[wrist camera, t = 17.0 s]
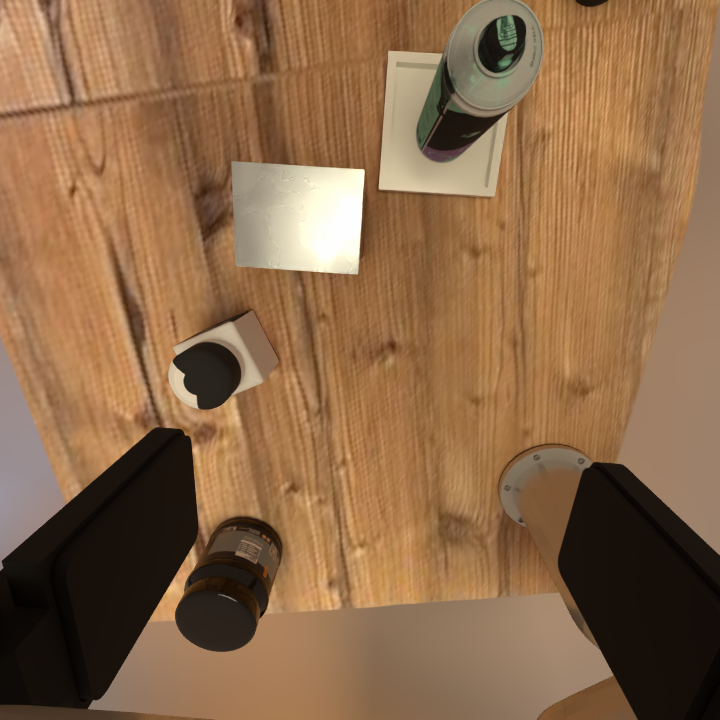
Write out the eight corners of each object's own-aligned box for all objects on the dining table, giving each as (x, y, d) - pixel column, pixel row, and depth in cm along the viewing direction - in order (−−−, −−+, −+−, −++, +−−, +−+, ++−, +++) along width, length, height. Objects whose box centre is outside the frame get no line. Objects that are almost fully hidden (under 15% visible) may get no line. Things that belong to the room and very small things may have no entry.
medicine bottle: (253, 307, 45) (210, 333, 34) (280, 361, 47) (249, 402, 36) (200, 331, 46) (143, 362, 35) (230, 382, 48) (184, 428, 37)
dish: (510, 66, 37) (516, 57, 35) (489, 198, 40) (494, 196, 39) (388, 59, 37) (388, 50, 35) (378, 191, 41) (378, 189, 39)
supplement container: (222, 575, 58) (184, 659, 47) (203, 518, 55) (157, 592, 44) (290, 569, 57) (268, 653, 46) (275, 511, 54) (247, 585, 43)
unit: (369, 194, 41) (364, 169, 25) (365, 259, 43) (357, 274, 27) (288, 189, 41) (231, 161, 25) (288, 253, 43) (235, 265, 27)
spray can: (440, 175, 39) (499, 122, 20) (404, 132, 38) (430, 33, 19) (483, 132, 38) (589, 33, 19) (446, 86, 37) (521, -69, 18)
